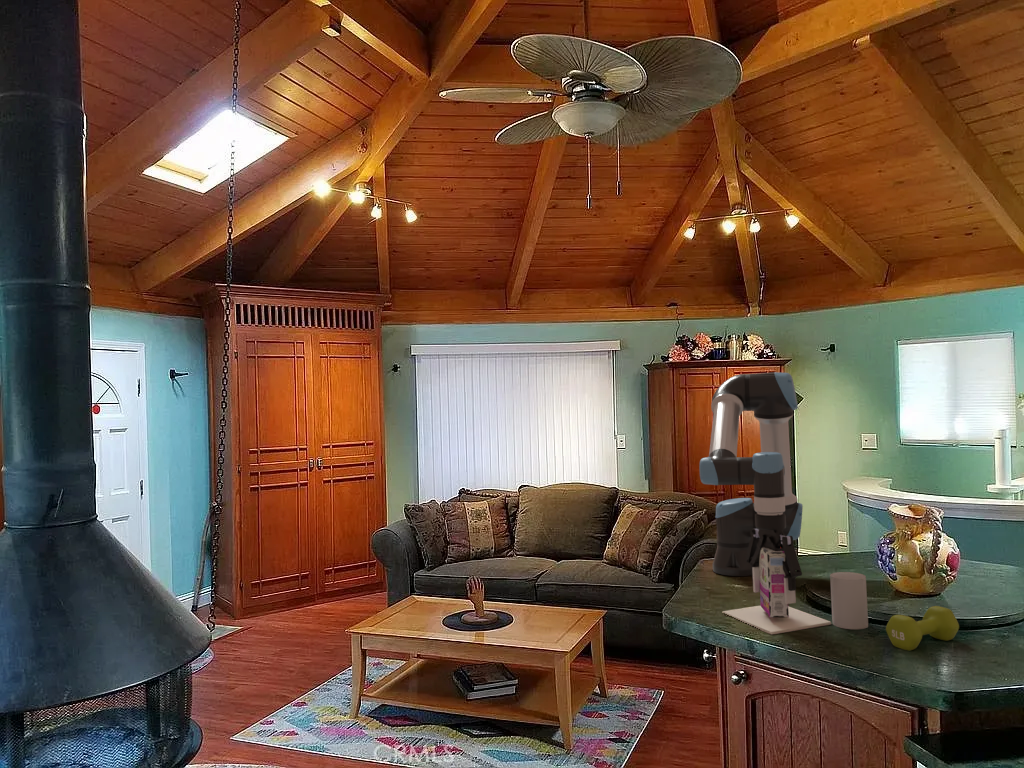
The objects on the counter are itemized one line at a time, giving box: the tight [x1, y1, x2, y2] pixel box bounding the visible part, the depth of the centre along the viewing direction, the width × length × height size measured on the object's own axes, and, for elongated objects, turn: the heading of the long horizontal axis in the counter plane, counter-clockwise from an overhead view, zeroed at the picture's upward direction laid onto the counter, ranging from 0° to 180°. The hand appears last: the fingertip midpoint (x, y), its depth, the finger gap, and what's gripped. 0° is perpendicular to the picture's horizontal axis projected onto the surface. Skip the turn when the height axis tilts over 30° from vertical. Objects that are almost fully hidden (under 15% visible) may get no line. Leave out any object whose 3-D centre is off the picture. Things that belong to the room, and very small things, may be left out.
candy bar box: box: [759, 547, 789, 618], centre depth 198 cm, size 11×5×16 cm, turn 174°
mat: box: [721, 604, 832, 635], centre depth 198 cm, size 18×20×1 cm
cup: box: [829, 571, 869, 630], centre depth 191 cm, size 8×8×12 cm
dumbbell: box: [885, 605, 960, 651], centre depth 175 cm, size 16×8×7 cm, turn 115°
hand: (774, 597), depth 198 cm, fingers closed on candy bar box, 12 cm apart
